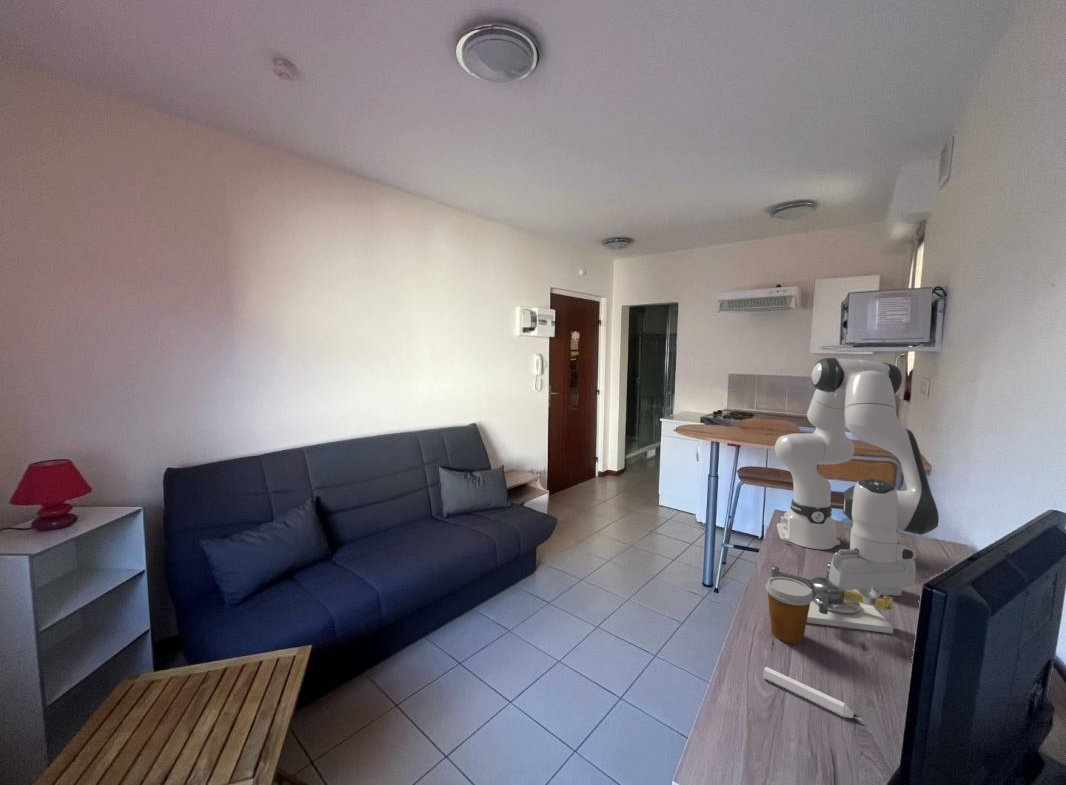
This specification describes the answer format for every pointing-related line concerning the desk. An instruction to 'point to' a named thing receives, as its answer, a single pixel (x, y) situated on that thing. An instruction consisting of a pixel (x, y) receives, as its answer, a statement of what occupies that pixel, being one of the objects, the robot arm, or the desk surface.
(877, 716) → the desk surface
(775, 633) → the disposable coffee cup
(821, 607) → the capstan
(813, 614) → the stand
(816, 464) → the robot arm
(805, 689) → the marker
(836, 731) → the desk surface
